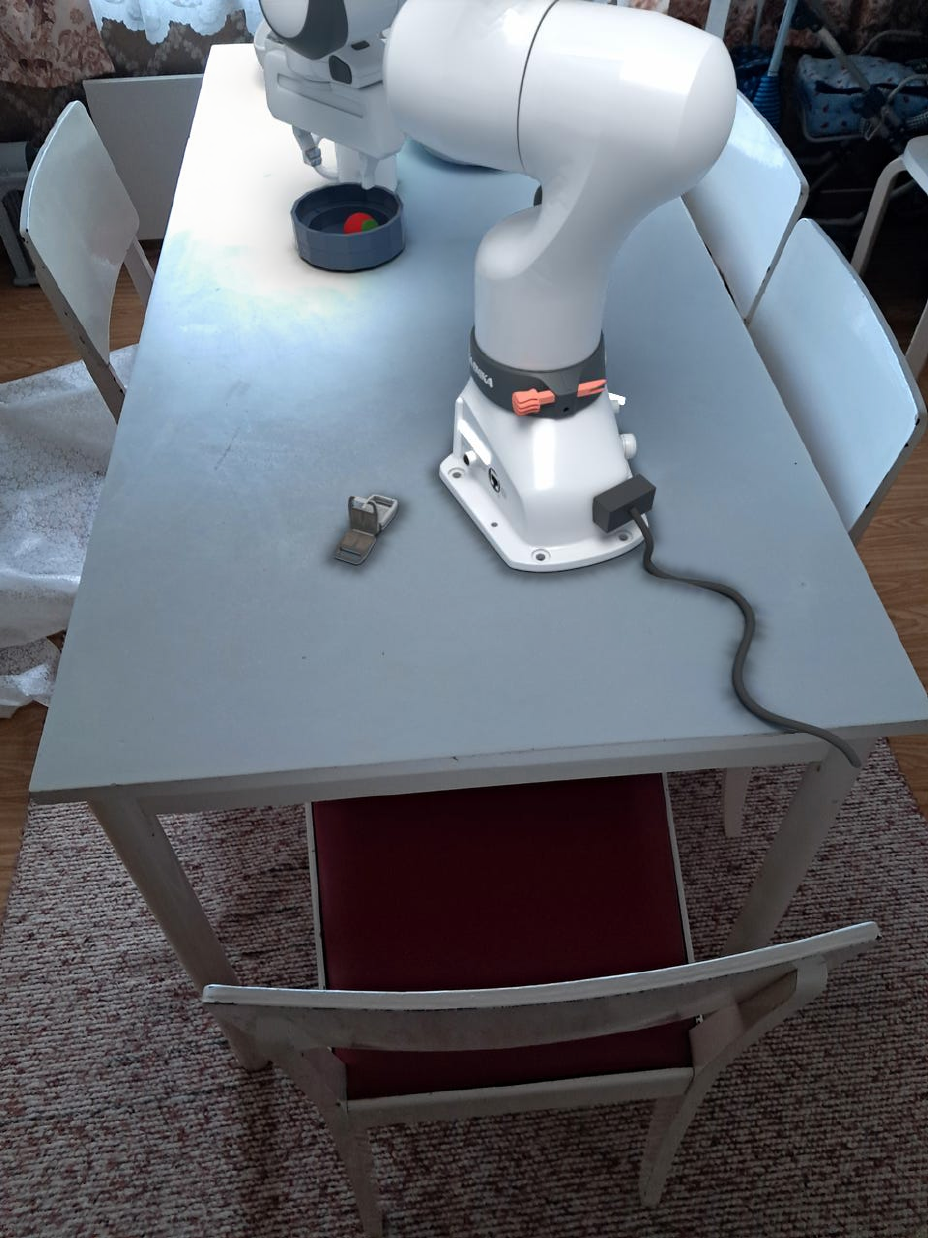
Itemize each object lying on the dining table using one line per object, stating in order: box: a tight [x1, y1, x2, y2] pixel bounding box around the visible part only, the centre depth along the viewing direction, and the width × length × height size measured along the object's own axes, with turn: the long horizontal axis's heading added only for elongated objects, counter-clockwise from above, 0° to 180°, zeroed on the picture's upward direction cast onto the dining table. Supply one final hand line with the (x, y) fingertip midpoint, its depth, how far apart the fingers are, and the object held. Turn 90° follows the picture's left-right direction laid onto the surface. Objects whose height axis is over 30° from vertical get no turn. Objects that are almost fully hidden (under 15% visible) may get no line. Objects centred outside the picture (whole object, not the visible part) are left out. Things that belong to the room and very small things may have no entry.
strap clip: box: [332, 493, 399, 565], centre depth 80 cm, size 8×3×4 cm, turn 157°
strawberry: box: [344, 213, 379, 234], centre depth 111 cm, size 4×4×5 cm
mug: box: [311, 133, 398, 193], centre depth 120 cm, size 12×8×10 cm
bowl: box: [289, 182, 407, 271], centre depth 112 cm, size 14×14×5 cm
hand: (339, 175), depth 106 cm, fingers open, 8 cm apart
